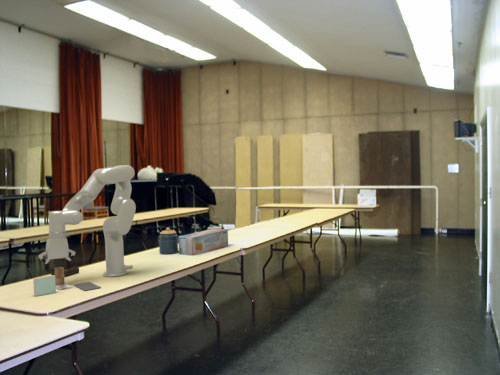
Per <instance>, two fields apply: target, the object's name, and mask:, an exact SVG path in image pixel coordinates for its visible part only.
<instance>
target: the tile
mask: <svg viewBox="0 0 500 375" xmlns="http://www.w3.org/2000/svg"><path fill="white" fill-rule="evenodd" d="M56 293H57V288H56V281H55V275H46V276H40V277H39V276H38V277H33V296H34V297H40V296H44V295H50V294H56Z"/></svg>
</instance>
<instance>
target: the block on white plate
mask: <svg viewBox="0 0 500 375" xmlns="http://www.w3.org/2000/svg"><path fill="white" fill-rule="evenodd" d="M64 270H65V268H64V267H63V266H57V267H54V271H55V281H56V290H59V291H62V290H67V289H68V290H69V289H72V288H73V286H71V285H70V284H68V283H65V276H64Z"/></svg>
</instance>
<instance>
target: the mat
mask: <svg viewBox="0 0 500 375" xmlns="http://www.w3.org/2000/svg"><path fill="white" fill-rule="evenodd" d="M73 287H76V288H78V289H79V290H81V291H83V292H88V290H89V291H93V290H98V289H99V290H100V289H102V287H101V286H99V285H97V284H95V283H93V282H91V281H85V282H81V283H80V282H79V283H75V284H73Z"/></svg>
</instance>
